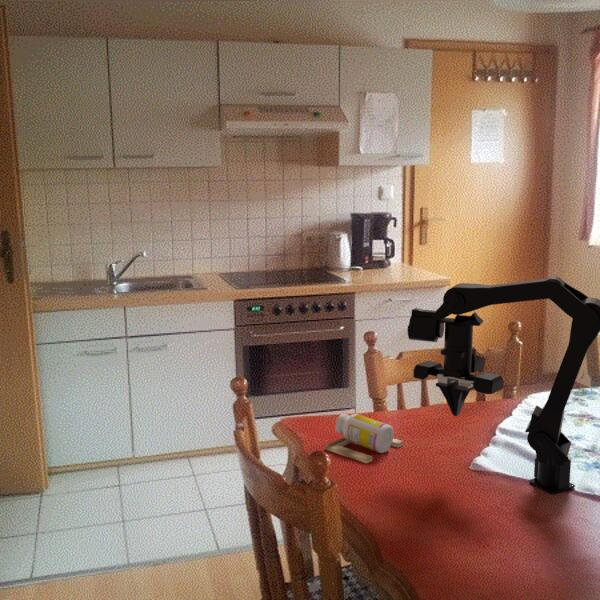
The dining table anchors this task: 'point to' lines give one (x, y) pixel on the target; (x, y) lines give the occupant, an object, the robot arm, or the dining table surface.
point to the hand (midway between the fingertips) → (456, 415)
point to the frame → (340, 449)
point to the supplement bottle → (365, 432)
